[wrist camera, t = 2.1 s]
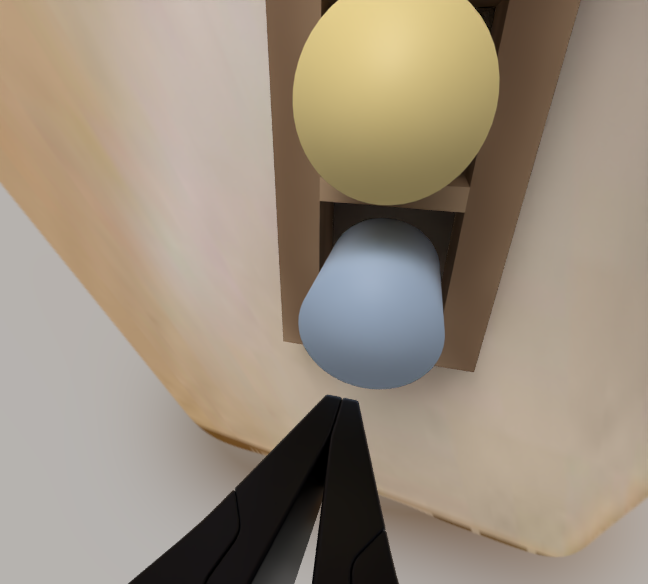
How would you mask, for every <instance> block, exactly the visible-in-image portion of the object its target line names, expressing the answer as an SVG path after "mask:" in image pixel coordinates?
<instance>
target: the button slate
mask: <svg viewBox="0 0 648 584" xmlns="http://www.w3.org/2000/svg"><path fill="white" fill-rule="evenodd" d="M298 325H299V333H300V337H301V340H302V342H303V345H304V347H305V349H306V350H307V352H308V354H309V355H310V356H311V358H312V359H313V360H314V361H315V362H316V363H317V365H318V366H320V367H321V368H322V369H323V370H324V371H326V372H327V373H328V374H330V375H331V376H333V377H335V378H337V379H338V380H341V381H343V382H345V383H348V384H351V385H354V386H358V387H362V388H368V389H391V388H396V387H401V386H404V385H407V384H409V383H412V382H414V381H416V380H418V379H419V378H421V377H422V376H424V375H425V374H426V373H428V372H429V371H430V370H431V369H432V368H433V366H434V365H435V364H436V362H437V361H438V359H439V357H440V355H441V353H442V350H443V346H444V340H445V329H444V315H443V302H442V289H441V275H440V263H439V258H438V255H437V252H436V250H435V248H434V246H433V244H432V243H431V241H430V240H429V239H428V238H427V237H426V235H425V234H424V233H422V232H421V231H420V230H419V229H417V228H416V227H414V226H412V225H411V224H408V223H406V222H404V221H400V220H397V219H391V218H375V219H369V220H365V221H363V222H360V223H358V224H356V225H354V226H352V227H351V228H349V229H348V230H346V231H345V232H344V233H343V234H342V235H341V236H340V238H339V239H338V240H337V242H336V244H335V245H334V247H333V249H332V251H331V252H330V254H329V256H328V258H327V260H326V261H325V263H324V265H323V267H322V269H321V270H320V272H319V274H318V276H317V278H316V279H315V281H314V283H313V285H312V286H311V288H310V290H309V292H308V294H307V295H306V297H305V299H304V301H303V303H302V306H301V308H300V313H299V321H298Z"/></svg>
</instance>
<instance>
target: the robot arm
mask: <svg viewBox="0 0 648 584" xmlns="http://www.w3.org/2000/svg"><path fill="white" fill-rule="evenodd" d="M321 503H322V507H321V514H320V515H321V516H320V523H319V530H318V540H317V547H316V555H315V563H314V571H313V580H312V584H399V583H398V579H397V576H396V571H395V567H394V563H393V559H392V555H391V551H390V546H389V542H388V537H387V533H386V531H385V524H384V519H383V515H382V510H381V505H380V500H379V496H378V491H377V486H376V482H375V477H374V472H373V468H372V463H371V458H370V453H369V449H368V444H367V439H366V435H365V430H364V425H363V421H362V416H361V411H360V407H359V403H358V401H357V400H352V399H347V398H343V399H342V398H340V397H337V396H332V395H326V396H325V397H324V398H323V399H322V400H321V401H320V402H319V403H318V404H317V405H316V406H315V407H314V408H313V409H312V410H311V411H310V412H309V413H308V414H307V415H306V416H305V417H304V418H303V419H302V420H301V421H300V422H299V423H298V424H297V425H296V426H295V427H294V428H293V429H292V430H291V431H290V432H289V434H288V435H287V436H286V437H285V438H284V439H283V440H282V441H281V442H280V443H279V444H278V445H277V446H276V447H275V448H274V449H273V450H272V451H271V452H270V453H269V454H268V455H267V456H266V457H265V458H264V459H263V460H262V461H261V462H260V463H259V464H258V465H257V466H256V468H254V469H253V470H252V471H251V472H250V474H249V475H247V477H246V478H245V479H244V480H243V481H242V482H241V483H240V484H239V485H238V486H237V487H236V488H235V491H234V490H233V491H232V492H231V493H230V494H229V495H228V496H227V497H226V498H225V499H224V500H223V501H222V502H221V503H220V504H219V505H218V506H217V507H216V508H215V509H214V510H213V511H212V512H211V513H210V514H209V515H208V516H207V517H206V518H204V520H202V521H201V522H200V523H199V524H198V525H197V526H196V527H194V528H193V529H192V530H191V531H190V532H189V533H188V534H186V535H185V536H184V537H183V538H182V539H181V540H180V541H178V542H177V543H176V544H175V545H174V546H172V547H171V548H170V549H169V550H168V551H166V552H165V553H164V554H163V555H162V556H160V557H159V558H158V559H157V560H156V561H155V562H153V563H152V564H151V565H150V566H148V567H147V568H146V569H145V570H144V571H143V572H141V573H140V574H139V575H138V576H137V577H135V578H134V579H133V580H132V581H131V582H129V583H128V584H294V583H295V580H296V577H297V574H298V571H299V568H300V565H301V562H302V559H303V556H304V553H305V550H306V547H307V544H308V541H309V538H310V535H311V532H312V529H313V526H314V524H315V521H316V518H317V515H318V512H319V509H320V506H321Z"/></svg>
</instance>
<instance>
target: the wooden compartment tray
mask: <svg viewBox="0 0 648 584" xmlns="http://www.w3.org/2000/svg"><path fill="white" fill-rule="evenodd" d="M337 1H338V0H266V16H267V35H268V54H269V74H270V93H271V112H272V131H273V150H274V169H275V188H276V207H277V226H278V246H279V265H280V284H281V303H282V322H283V341H285V342H291V343H297V344H303V342H302V340H301V337H300V333H299V325H298V321H299V313H300V308H301V306H302V303H303V301H304V299H305V297H306V295H307V294H308V292H309V290H310V288H311V286H312V285H313V283H314V281H315V279H316V278H317V276H318V274H319V272H320V270H321V269H322V267H323V265H324V263H325V261H326V260H327V258H328V256H329V254H330V252H331V251H332V249H333V213H334V202H341V203H353V204H365V205H376V204H369V203H365V202H362V201H358V200H356V199H353V198H351V197H349V196H346V195H345V194H343V193H341V192H340V191H338V190H336V189H335V188H334V187H333V186H331V185H330V184H329V183H327V182H326V181H325V180H324V179H323V178H322V177H321V176H320V174H319V173H318V172H317V171H316V169H315V168H314V167H313V166H312V164H311V162H310V161H309V159H308V157H307V156H306V154H305V152H304V150H303V147H302V145H301V143H300V140H299V137H298V134H297V131H296V126H295V121H294V114H293V85H294V78H295V73H296V69H297V65H298V61H299V58H300V55H301V53H302V50H303V47H304V45H305V43H306V41H307V39H308V37H309V35H310V34H311V32H312V30H313V29H314V27H315V26H316V24H317V23H318V21H319V20H320V19H321V17H322V16H323V15H324V14H325V13H326V12H327V11H328V9H329V8H330V7H331V6H332V5H334V4H335V3H336V2H337ZM467 1H469V2H470V3H471V4H472V6H473V7H496V9H495V14H494V19H493V24H492V29H491V34H490V35H491V37H492V40H493V43H494V45H495V50H496V54H497V58H498V66H499V76H500V78H499V96H498V102H497V108H496V112H495V116H494V119H493V123H492V125H491V128H490V130H489V133H488V135H487V137H486V139H485V141H484V143H483V145H482V147H481V148H480V150H479V152H478V153H477V155H476V156H475V157H474V159H473V160H472V162H471V163H470V164H469V165H468V166H467V167H466V169H465V170H464V171H463V172H462V173H461V174H460V175H459V176H458V177H456V178H455V179H454V180H453V181H452V182H451V183H449V184H448V185H447V186H445V187H444V188H442V189H441V190H439V191H437V192H435V193H434V194H432V195H430V196H428V197H425V198H423V199H420V200H417V201H414V202H410V203H406V204H399V205H377V206H389V207H401V208H414V209H426V210H438V211H450V212H455V217H454V222H453V227H452V232H451V237H450V242H449V247H448V252H447V257H446V262H445V267H444V272H443V278H442V283H441V289H442V302H443V315H444V329H445V340H444V346H443V350H442V353H441V355H440V357H439V359H438V361H437V362H436V364H435V365H434V366H439V367H445V368H451V369H457V370H463V371H469V372H474V370H475V367H476V363H477V360H478V356H479V353H480V349H481V346H482V342H483V339H484V335H485V332H486V328H487V325H488V321H489V318H490V314H491V311H492V307H493V304H494V300H495V297H496V293H497V290H498V287H499V283H500V280H501V276H502V273H503V269H504V266H505V262H506V259H507V255H508V252H509V248H510V245H511V241H512V238H513V234H514V231H515V227H516V224H517V220H518V217H519V213H520V210H521V206H522V203H523V199H524V196H525V193H526V189H527V186H528V182H529V179H530V175H531V172H532V168H533V165H534V161H535V158H536V154H537V151H538V147H539V144H540V140H541V137H542V133H543V130H544V126H545V123H546V119H547V116H548V112H549V109H550V105H551V102H552V99H553V95H554V92H555V88H556V85H557V81H558V78H559V74H560V71H561V67H562V64H563V60H564V57H565V53H566V50H567V46H568V43H569V39H570V36H571V32H572V29H573V25H574V22H575V18H576V15H577V11H578V8H579V5H580V1H581V0H467Z"/></svg>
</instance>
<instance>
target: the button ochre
mask: <svg viewBox="0 0 648 584" xmlns="http://www.w3.org/2000/svg"><path fill="white" fill-rule="evenodd" d="M499 78H500V76H499V66H498V58H497V54H496V50H495V45H494V43H493V40H492V37H491V35H490V32H489V30H488V28H487V26H486V24H485V23H484V21H483V19H482V17H481V16H480V14H479V13H478V12H477V11H476V9H475V8H474V7H473V6H472V4H471V3H470V2H469V1H467V0H338V1H337V2H336V3H335V4H334V5H332V6H331V7H330V8H329V9H328V11H327V12H326V13H325V14H324V15H323V16H322V17H321V19H320V20H319V21H318V23H317V24H316V26H315V27H314V29H313V30H312V32H311V34H310V35H309V37H308V39H307V41H306V43H305V45H304V47H303V50H302V53H301V55H300V58H299V61H298V65H297V69H296V73H295V78H294V85H293V114H294V121H295V126H296V131H297V134H298V137H299V140H300V143H301V145H302V147H303V150H304V152H305V154H306V156H307V157H308V159H309V161H310V162H311V164H312V166H313V167H314V168H315V169H316V171H317V172H318V173H319V174H320V176H321V177H322V178H323V179H324V180H325V181H326V182H327V183H329V184H330V185H331V186H333V187H334V188H335V189H336V190H338V191H340V192H341V193H343V194H345V195H346V196H349V197H351V198H353V199H356V200H358V201H362V202H365V203H369V204H376V205H399V204H406V203H410V202H414V201H417V200H420V199H423V198H425V197H428V196H430V195H432V194H434V193H435V192H437V191H439V190H441V189H442V188H444V187H445V186H447V185H448V184H449V183H451V182H452V181H453V180H454V179H455V178H456V177H458V176H459V175H460V174H461V173H462V172H463V171H464V170H465V169H466V167H467V166H468V165H469V164H470V163H471V162H472V160H473V159H474V157H475V156H476V155H477V153H478V152H479V150H480V148H481V147H482V145H483V143H484V141H485V139H486V137H487V135H488V133H489V130H490V128H491V125H492V123H493V119H494V116H495V112H496V108H497V102H498V96H499Z"/></svg>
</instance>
